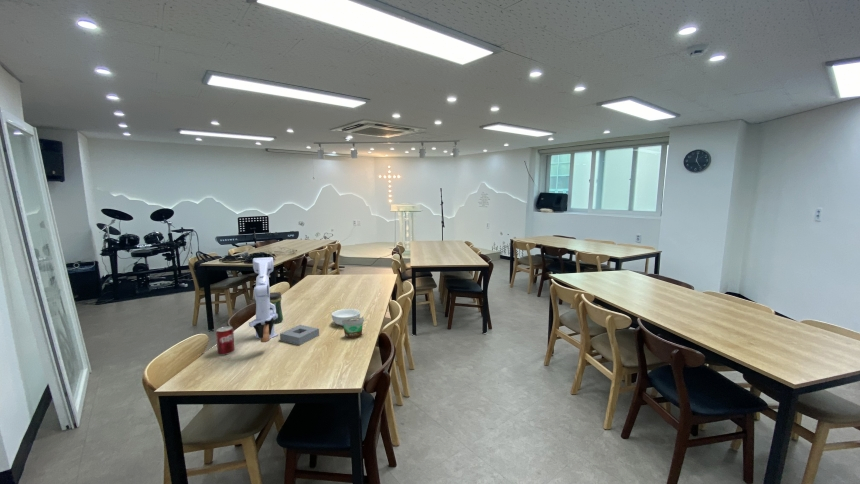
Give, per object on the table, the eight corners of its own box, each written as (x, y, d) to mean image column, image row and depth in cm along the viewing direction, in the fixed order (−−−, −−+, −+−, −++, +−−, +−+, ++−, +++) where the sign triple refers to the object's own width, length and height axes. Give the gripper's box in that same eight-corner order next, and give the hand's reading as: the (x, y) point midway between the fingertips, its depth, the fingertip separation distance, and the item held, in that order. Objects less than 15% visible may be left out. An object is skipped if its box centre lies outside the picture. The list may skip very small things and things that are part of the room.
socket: (280, 340, 175) (279, 333, 175) (300, 331, 188) (300, 324, 187) (299, 345, 169) (299, 337, 169) (319, 335, 182) (318, 328, 182)
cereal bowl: (366, 322, 203) (365, 311, 202) (345, 331, 189) (345, 319, 188) (346, 317, 212) (346, 306, 211) (326, 325, 198) (325, 313, 197)
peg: (258, 341, 160) (257, 325, 159) (265, 338, 163) (264, 323, 162) (264, 343, 158) (263, 327, 157) (271, 339, 162) (270, 324, 161)
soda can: (238, 350, 164) (236, 327, 162) (224, 356, 157) (223, 332, 156) (227, 348, 166) (225, 325, 165) (213, 354, 159) (212, 330, 158)
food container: (344, 340, 175) (344, 322, 174) (342, 336, 180) (341, 319, 179) (367, 336, 181) (366, 319, 180) (364, 332, 186) (363, 315, 185)
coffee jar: (284, 319, 208) (283, 290, 206) (280, 323, 200) (278, 294, 198) (268, 319, 207) (266, 291, 205) (263, 324, 199) (262, 294, 197)
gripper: (255, 314, 151) (257, 343, 152) (281, 306, 164) (282, 332, 165) (245, 312, 154) (247, 340, 155) (271, 304, 167) (272, 329, 168)
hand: (264, 336), depth 160 cm, fingers closed on peg, 4 cm apart
